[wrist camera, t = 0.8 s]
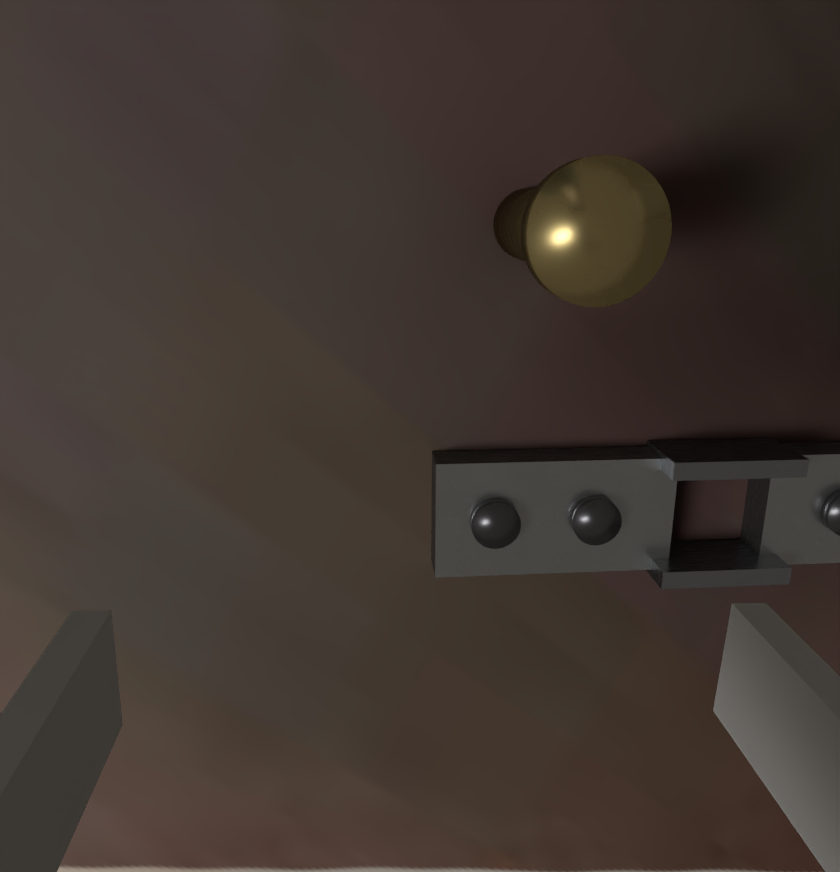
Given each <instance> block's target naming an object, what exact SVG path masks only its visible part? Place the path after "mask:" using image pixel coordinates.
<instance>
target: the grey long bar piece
mask: <svg viewBox="0 0 840 872" xmlns="http://www.w3.org/2000/svg"><path fill="white" fill-rule="evenodd" d="M726 479H749V482H748V489H747V496H746V504H745V511H744V518H743V525H742V533H741V539H716V540H687V541H671V534H672V525H673V516H674V507H675V497H676V488H677V481H690V480H726ZM431 560H432V565H433V570H434V575H435V577H461V576H488V575H515V574H543V573H570V572H597V571H625V570H647V571H648V573H649V574H650V575H651V577H652V578H653V579H654V580H655V582H656V583H657V584H658V585H659V587H660V588H661V589H676V588H702V587H728V586H753V585H779V584H790V578H791V571H792V567H790V566H789V564H816V563H840V442H800V443H780V442H778V441H776V440H774V439H773V438H737V439H695V440H652V441H647V446H633V447H591V448H550V449H508V450H466V451H432V543H431Z"/></svg>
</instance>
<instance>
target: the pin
mask: <svg viewBox="0 0 840 872" xmlns="http://www.w3.org/2000/svg"><path fill="white" fill-rule="evenodd" d="M493 225H494V234H495V237H496V240H497V242H498V244H499V245H500V247H501V248H502V249H503V250H504V251H505V252H506V253H507V254H509V255H511V256H513V257H515V258H518V259H521V260H524V261H526V263H527V266H528V268H529V270H530V271H531V273H532V275H533V276H534V278H535V279H536V280H537V281H538V283H539V284H540V285H541V286H543V287H544V288H545V289H546V290H547V291H549V292H550V293H551V294H553V295H555V296H557V297H559V298H561V299H563V300H565V301H567V302H570V303H573V304H575V305H579V306H584V307H604V306H609V305H614V304H616V303H619V302H622V301H624V300H626V299H628V298H630V297H632V296H633V295H635V294H636V293H638V292H639V291H640V290H641V289H643V288H644V287H645V286H646V285H647V284H648V283H649V282H650V281H651V280H652V279H653V277H654V276H655V275H656V273H657V272H658V270H659V269H660V267H661V265H662V263H663V261H664V259H665V257H666V254H667V251H668V248H669V244H670V239H671V232H672V220H671V211H670V207H669V203H668V200H667V197H666V195H665V193H664V191H663V189H662V187H661V185H660V184H659V183H658V181H657V180H656V178H655V177H654V176H653V175H652V174H651V173H650V172H649V171H648V170H646V169H645V168H644V167H642V166H641V165H639V164H637V163H636V162H634V161H632V160H629V159H627V158H624V157H619V156H615V155H595V156H590V157H585V158H580V159H576V160H573V161H571V162H568V163H566V164H564V165H562V166H560V167H558V168H557V169H556V170H554V171H553V172H551V173H550V174H549V175H548V176H547V177H546V178H545V179H544V180H543V181H542V182H541V183H540V184H539V185H538V187H534V188H524V189H519V190H517V191H514V192H512V193H511V194H509V195H508V196H507V197H506V198H505V199H504V200H503V201H502V202H501V203H500V205H499V206H498V208H497V210H496V213H495V217H494V224H493Z"/></svg>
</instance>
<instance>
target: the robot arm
mask: <svg viewBox="0 0 840 872" xmlns="http://www.w3.org/2000/svg"><path fill="white" fill-rule="evenodd" d="M713 711H714V712H715V714H716V715H717V717H718V718H719V720H720V721H721V722H722V724H723V725H724V727H725V728H726V730H727V731H728V733H729V734H730V735H731V737H732V738H733V740H734V741H735V743H736V744H737V745H738V747H739V748H740V750H741V751H742V753H743V754H744V756H745V757H746V758H747V760H748V761H749V763H750V764H751V766H752V767H753V768H754V770H755V771H756V773H757V774H758V776H759V777H760V778H761V780H762V781H763V783H764V784H765V786H766V787H767V789H768V790H769V791H770V793H771V794H772V796H773V797H774V799H775V800H776V801H777V803H778V804H779V806H780V807H781V809H782V810H783V812H784V813H785V814H786V816H787V817H788V819H789V820H790V822H791V823H792V824H793V826H794V827H795V829H796V830H797V832H798V833H799V834H800V836H801V837H802V839H803V840H804V842H805V843H806V845H807V846H808V847H809V849H810V850H811V852H812V853H813V855H814V856H815V857H816V859H817V860H818V862H819V863H820V865H821V866H822V868H823V869H824V870H825V872H840V676H839V675H838V674H837V673H836V672H835V671H834V670H833V669H832V668H831V667H830V666H829V665H828V664H827V663H826V662H825V661H824V660H823V659H822V658H821V657H820V656H819V655H818V654H817V653H816V652H815V651H814V650H812V649H811V648H810V647H809V646H808V645H807V644H806V643H805V642H804V641H803V640H802V639H801V638H800V637H799V636H798V635H797V634H796V633H795V632H794V631H793V630H792V629H791V628H790V627H789V626H788V625H787V624H786V623H785V622H784V621H783V620H782V619H781V618H780V617H779V616H778V615H777V614H776V613H775V612H774V611H773V610H772V609H771V608H770V607H769V606H768V605H767V604H766V603H735V604H732V606H731V612H730V618H729V623H728V629H727V635H726V641H725V646H724V652H723V658H722V663H721V669H720V675H719V680H718V686H717V692H716V697H715V703H714V709H713ZM122 725H123V724H122V714H121V704H120V694H119V684H118V674H117V664H116V654H115V644H114V634H113V624H112V614H111V610H104V611H72V612H71V613H70V615H69V616H68V618H67V619H66V620H65V622H64V623H63V625H62V626H61V628H60V629H59V631H58V632H57V633H56V635H55V636H54V638H53V639H52V641H51V642H50V644H49V645H48V646H47V648H46V649H45V651H44V652H43V654H42V655H41V657H40V658H39V659H38V661H37V662H36V664H35V665H34V667H33V668H32V670H31V671H30V672H29V674H28V675H27V677H26V678H25V680H24V681H23V683H22V684H21V685H20V687H19V688H18V690H17V691H16V693H15V694H14V696H13V697H12V698H11V700H10V701H9V703H8V704H7V706H6V707H5V709H4V710H3V711H2V713H1V714H0V872H57V870H58V868H59V866H60V863H61V861H62V859H63V857H64V854H65V852H66V850H67V848H68V845H69V843H70V841H71V839H72V837H73V834H74V832H75V830H76V828H77V825H78V823H79V821H80V819H81V816H82V814H83V812H84V810H85V807H86V805H87V803H88V801H89V798H90V796H91V794H92V792H93V790H94V787H95V785H96V783H97V781H98V778H99V776H100V774H101V772H102V769H103V767H104V765H105V763H106V760H107V758H108V756H109V754H110V751H111V749H112V747H113V745H114V742H115V740H116V738H117V736H118V734H119V731H120V729H121V727H122Z"/></svg>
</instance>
